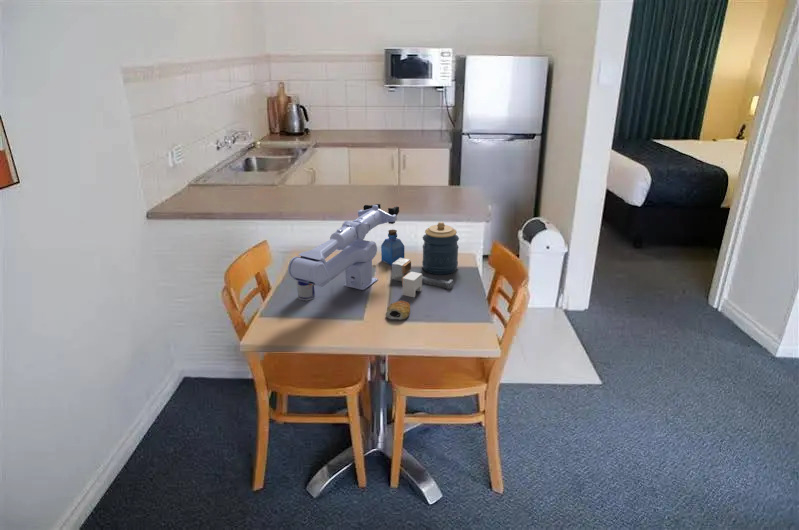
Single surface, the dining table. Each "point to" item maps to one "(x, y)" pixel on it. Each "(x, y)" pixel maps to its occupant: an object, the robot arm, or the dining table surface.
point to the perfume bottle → (392, 248)
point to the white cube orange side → (412, 283)
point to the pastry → (398, 310)
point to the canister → (440, 249)
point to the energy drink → (305, 291)
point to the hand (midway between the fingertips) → (388, 207)
